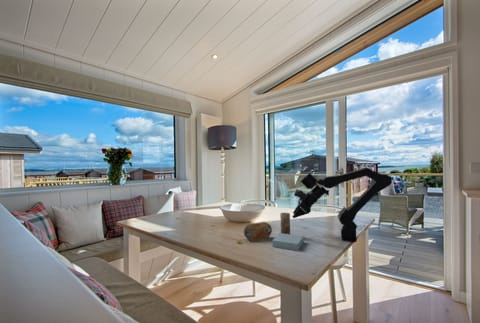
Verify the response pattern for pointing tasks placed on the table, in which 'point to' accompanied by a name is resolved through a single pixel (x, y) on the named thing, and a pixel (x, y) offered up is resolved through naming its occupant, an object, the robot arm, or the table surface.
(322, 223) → the table surface
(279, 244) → the slate plinth
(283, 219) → the walnut column
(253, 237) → the tin
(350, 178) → the robot arm
